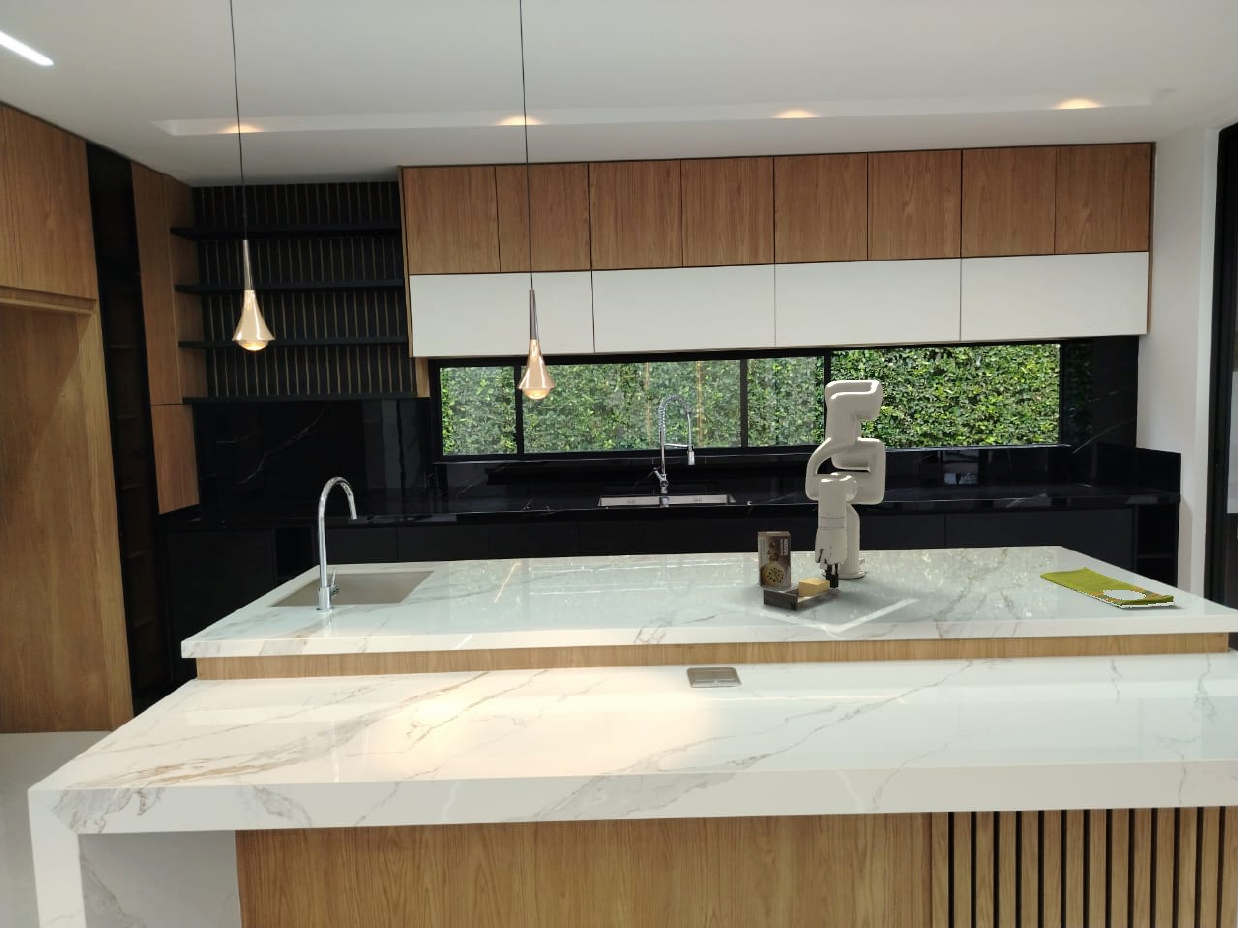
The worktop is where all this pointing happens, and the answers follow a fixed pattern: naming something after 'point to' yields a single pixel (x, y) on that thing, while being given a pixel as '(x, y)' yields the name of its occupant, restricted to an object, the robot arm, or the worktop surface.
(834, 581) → the robot arm
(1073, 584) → the dish towel
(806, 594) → the block
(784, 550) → the coffee box
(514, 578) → the worktop surface
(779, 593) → the chute
